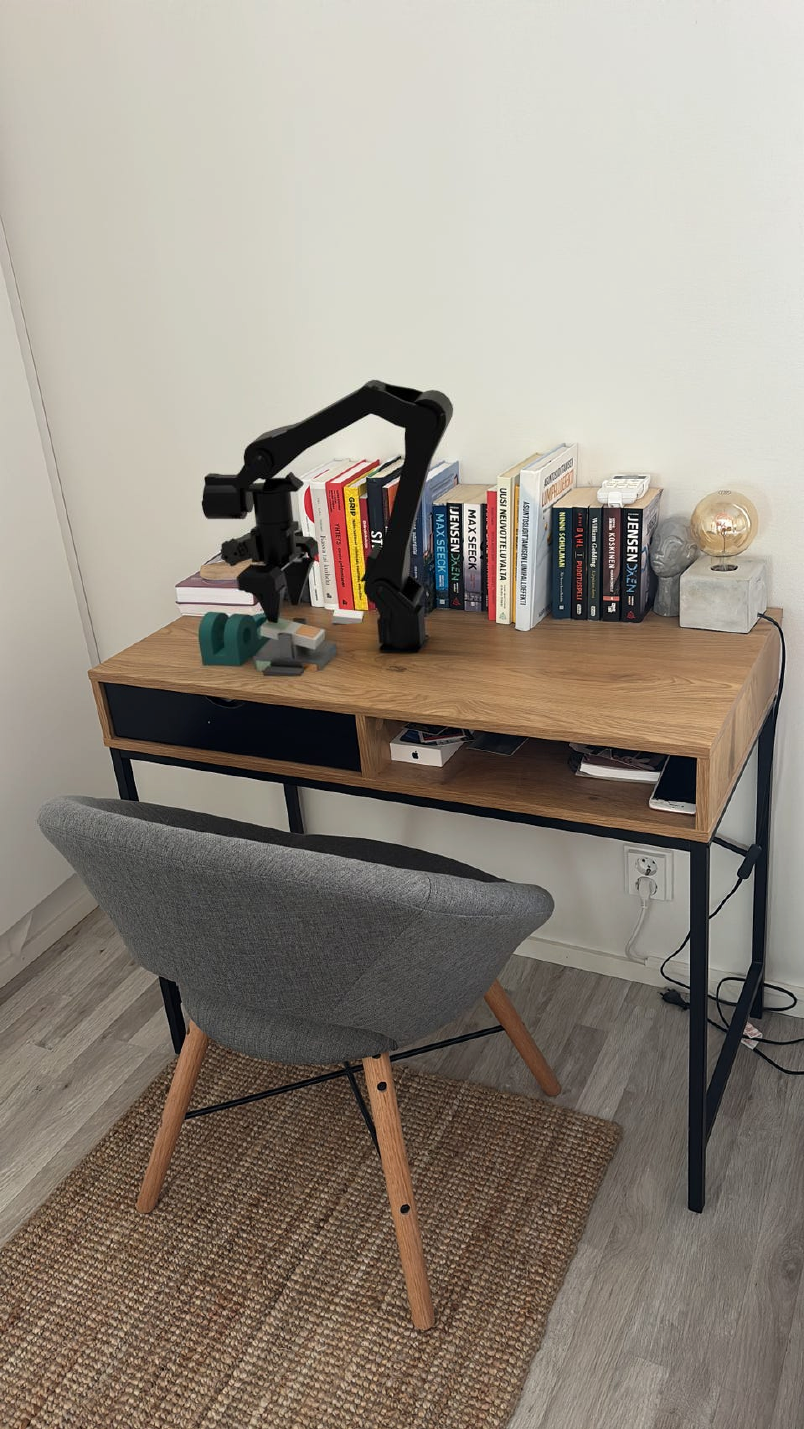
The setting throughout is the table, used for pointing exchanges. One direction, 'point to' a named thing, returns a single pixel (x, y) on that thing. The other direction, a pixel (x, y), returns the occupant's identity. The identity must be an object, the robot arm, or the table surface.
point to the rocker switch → (294, 632)
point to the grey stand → (294, 653)
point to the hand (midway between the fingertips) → (284, 615)
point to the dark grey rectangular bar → (282, 671)
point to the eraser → (347, 616)
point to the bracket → (230, 638)
